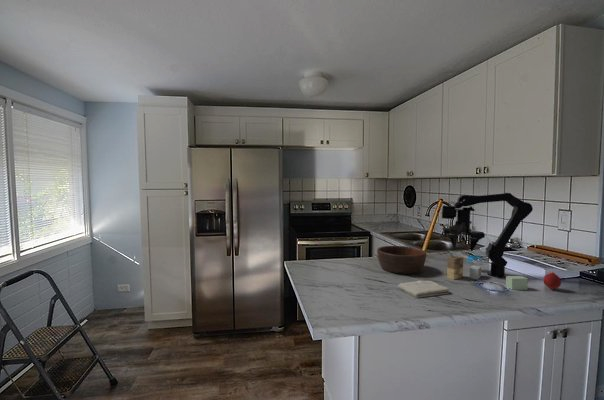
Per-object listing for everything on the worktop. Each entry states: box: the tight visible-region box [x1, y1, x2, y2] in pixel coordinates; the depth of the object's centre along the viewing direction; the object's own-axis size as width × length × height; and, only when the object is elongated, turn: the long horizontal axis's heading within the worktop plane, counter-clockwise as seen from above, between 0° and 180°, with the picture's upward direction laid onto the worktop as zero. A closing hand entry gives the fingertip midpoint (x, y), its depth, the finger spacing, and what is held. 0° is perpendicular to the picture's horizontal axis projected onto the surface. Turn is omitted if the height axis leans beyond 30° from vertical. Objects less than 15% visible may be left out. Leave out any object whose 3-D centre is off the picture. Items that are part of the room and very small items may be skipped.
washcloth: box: [397, 279, 450, 299], centre depth 123 cm, size 12×18×3 cm, turn 109°
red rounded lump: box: [542, 271, 562, 291], centre depth 125 cm, size 6×6×8 cm
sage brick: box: [505, 275, 529, 291], centre depth 126 cm, size 7×4×5 cm, turn 93°
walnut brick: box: [446, 255, 464, 269], centre depth 141 cm, size 7×4×5 cm, turn 118°
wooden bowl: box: [376, 245, 427, 275], centre depth 156 cm, size 25×25×10 cm
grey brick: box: [469, 264, 482, 280], centre depth 142 cm, size 7×4×5 cm, turn 138°
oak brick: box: [446, 267, 464, 280], centre depth 141 cm, size 7×4×5 cm, turn 118°
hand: (462, 249), depth 150 cm, fingers open, 9 cm apart
